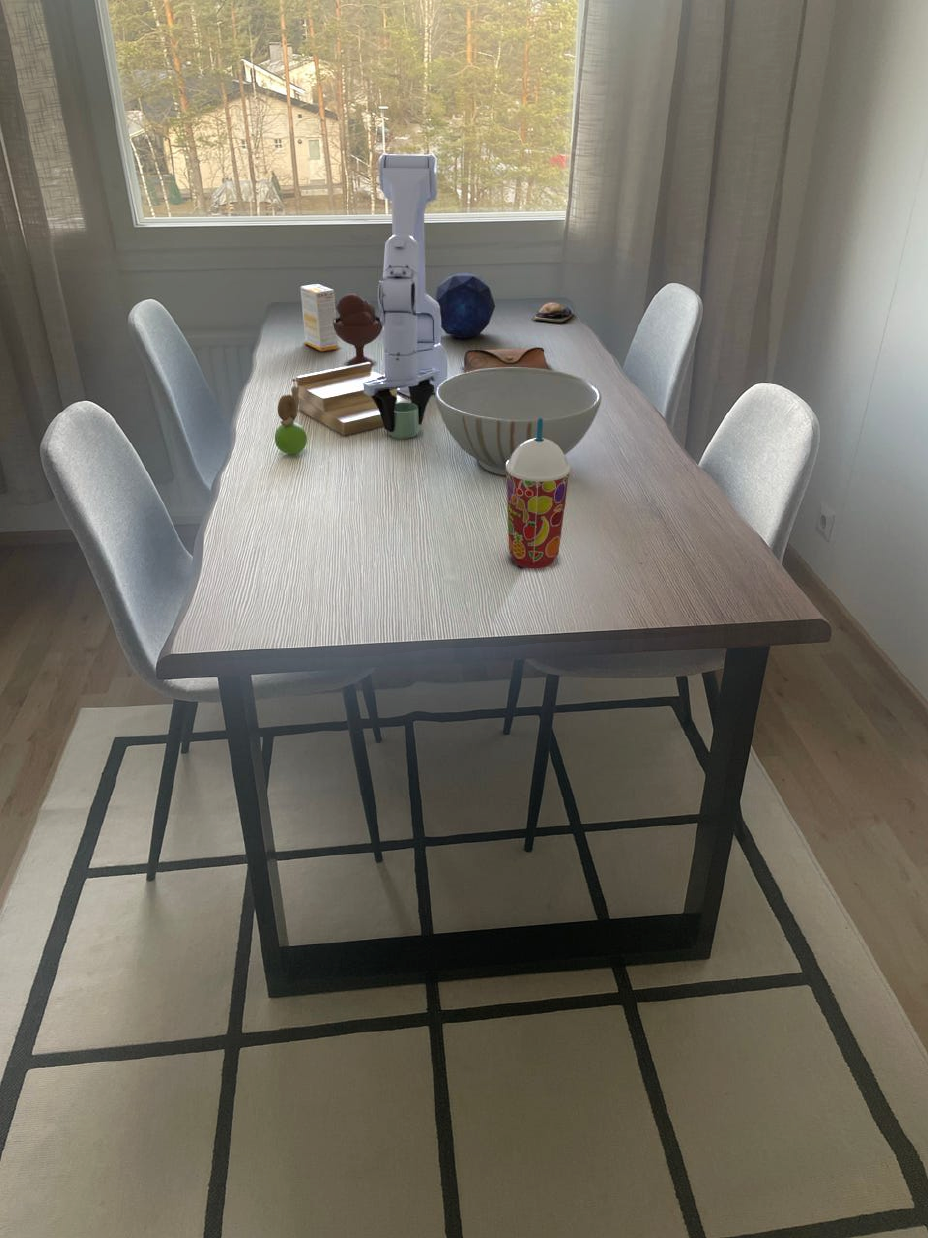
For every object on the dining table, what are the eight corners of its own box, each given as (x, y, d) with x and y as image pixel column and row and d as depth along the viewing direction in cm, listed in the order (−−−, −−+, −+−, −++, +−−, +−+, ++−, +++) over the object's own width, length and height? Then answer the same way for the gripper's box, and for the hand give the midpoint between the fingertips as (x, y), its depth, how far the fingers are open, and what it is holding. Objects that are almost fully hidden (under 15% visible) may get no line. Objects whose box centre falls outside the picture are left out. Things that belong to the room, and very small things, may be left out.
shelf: (418, 417, 173) (417, 383, 170) (344, 435, 165) (342, 400, 162) (370, 393, 185) (368, 361, 181) (299, 409, 177) (296, 376, 173)
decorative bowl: (483, 507, 140) (484, 432, 134) (410, 448, 160) (408, 380, 154) (627, 475, 151) (635, 404, 144) (541, 424, 171) (545, 359, 164)
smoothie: (499, 546, 129) (503, 408, 119) (558, 544, 130) (567, 406, 119) (506, 575, 122) (511, 431, 112) (568, 573, 123) (579, 430, 112)
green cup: (407, 426, 169) (406, 400, 167) (424, 435, 166) (424, 408, 163) (382, 432, 167) (381, 406, 164) (399, 441, 163) (398, 414, 160)
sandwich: (562, 324, 231) (563, 309, 229) (530, 320, 234) (531, 305, 232) (575, 314, 239) (576, 299, 237) (544, 311, 242) (545, 296, 240)
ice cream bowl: (378, 372, 197) (374, 300, 189) (328, 369, 199) (322, 297, 191) (391, 358, 205) (388, 288, 197) (343, 355, 207) (338, 286, 199)
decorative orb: (516, 311, 220) (484, 254, 217) (483, 325, 209) (450, 265, 207) (475, 341, 229) (444, 286, 227) (442, 355, 219) (409, 298, 216)
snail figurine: (316, 447, 160) (310, 379, 154) (299, 461, 155) (292, 391, 149) (288, 443, 162) (281, 376, 156) (270, 456, 157) (262, 387, 150)
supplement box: (339, 348, 212) (335, 289, 205) (320, 352, 209) (315, 292, 202) (323, 340, 217) (318, 282, 211) (304, 343, 215) (299, 285, 208)
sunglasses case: (470, 376, 193) (467, 344, 193) (465, 384, 200) (462, 353, 200) (553, 372, 196) (551, 340, 195) (545, 380, 203) (543, 349, 202)
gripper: (377, 363, 152) (381, 442, 159) (448, 348, 159) (448, 424, 166) (355, 353, 156) (359, 430, 164) (425, 339, 164) (426, 413, 171)
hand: (403, 426), depth 165 cm, fingers closed on green cup, 5 cm apart
